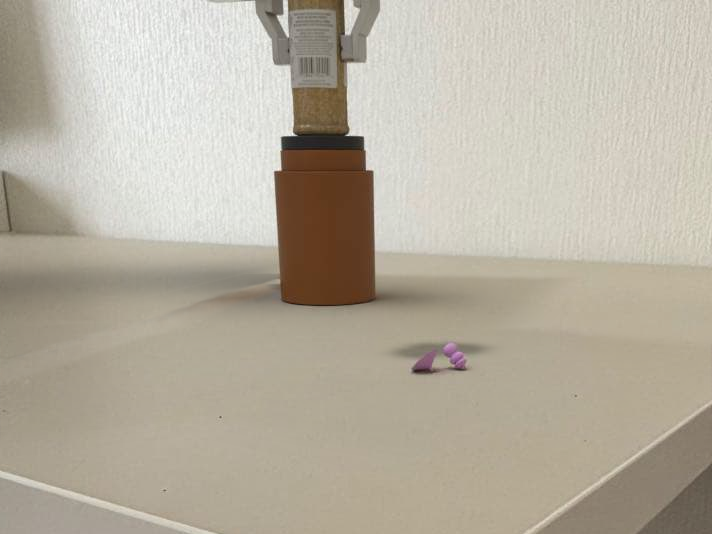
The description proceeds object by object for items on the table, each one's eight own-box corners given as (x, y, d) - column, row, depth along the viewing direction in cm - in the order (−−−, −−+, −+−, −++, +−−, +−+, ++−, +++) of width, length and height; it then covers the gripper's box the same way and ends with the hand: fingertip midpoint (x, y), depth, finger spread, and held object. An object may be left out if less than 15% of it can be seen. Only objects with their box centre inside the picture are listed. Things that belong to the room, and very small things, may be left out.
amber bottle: (265, 303, 72) (254, 135, 67) (303, 290, 79) (296, 137, 74) (356, 307, 70) (352, 135, 65) (387, 293, 77) (386, 137, 72)
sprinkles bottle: (359, 136, 71) (355, -62, 65) (332, 135, 67) (326, -76, 62) (309, 137, 72) (301, -57, 67) (280, 136, 69) (270, -70, 63)
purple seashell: (425, 397, 50) (433, 384, 48) (408, 374, 50) (415, 361, 48) (465, 370, 51) (474, 357, 49) (448, 348, 51) (457, 334, 49)
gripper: (464, -159, 62) (460, 62, 68) (205, -132, 68) (221, 71, 73) (441, -190, 57) (439, 54, 62) (161, -157, 62) (182, 65, 68)
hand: (319, 64), depth 68 cm, fingers closed on sprinkles bottle, 4 cm apart
